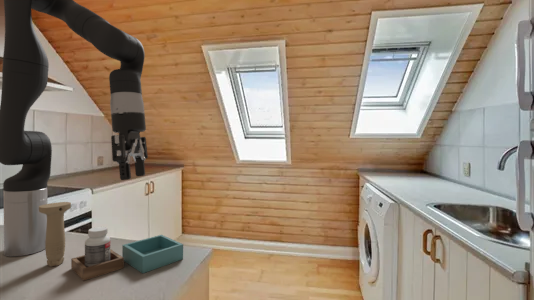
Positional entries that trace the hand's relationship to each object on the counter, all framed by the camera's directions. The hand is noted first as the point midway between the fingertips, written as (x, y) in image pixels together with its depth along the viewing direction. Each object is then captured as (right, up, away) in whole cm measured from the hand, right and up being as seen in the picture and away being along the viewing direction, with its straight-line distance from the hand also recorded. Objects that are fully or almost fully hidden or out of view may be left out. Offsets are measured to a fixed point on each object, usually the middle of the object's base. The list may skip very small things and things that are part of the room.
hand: (133, 177), depth 70 cm
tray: (+3, -22, +4) cm, 23 cm away
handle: (-20, -22, 0) cm, 29 cm away
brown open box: (-8, -22, -1) cm, 24 cm away
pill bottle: (-8, -22, -1) cm, 24 cm away
